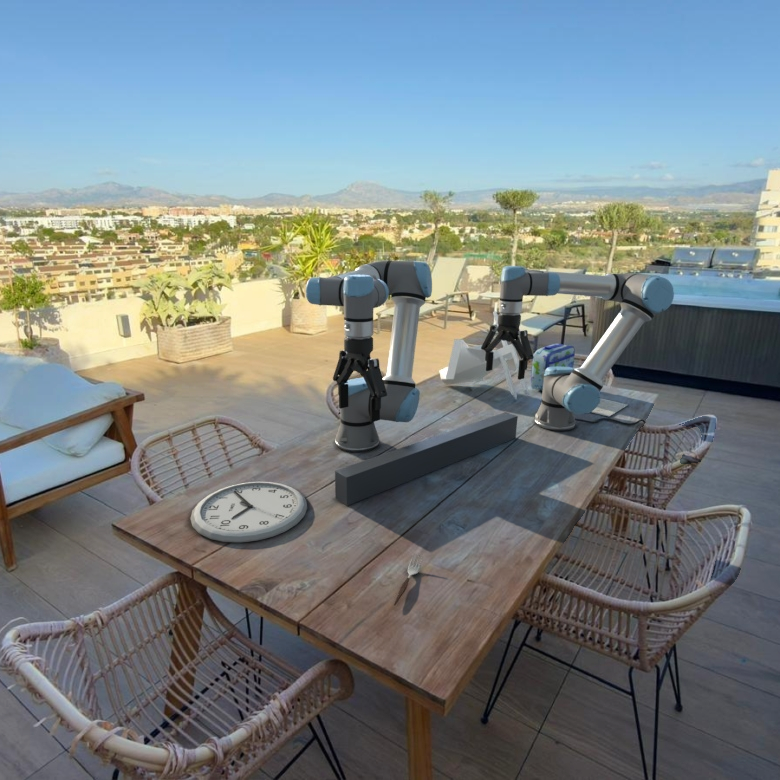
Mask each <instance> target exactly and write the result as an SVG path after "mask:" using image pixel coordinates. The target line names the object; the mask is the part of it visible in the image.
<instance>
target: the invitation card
mask: <svg viewBox="0 0 780 780" xmlns="http://www.w3.org/2000/svg"><path fill="white" fill-rule="evenodd" d="M628 406H629V404H627V403H623V402H618V401H614V400H609V399H605V398H601V397H600V402H599V404H598V406H597V407H596V408H595V409H594V410H593V411H591V412H590V413H593V414H596V415H600V416H604V417H607V418H610V417H611V416H613V415H614V414H616V413H617V412H619V411H621V410H623V409H624V408H626V407H628Z"/></svg>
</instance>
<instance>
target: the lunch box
mask: <svg viewBox="0 0 780 780" xmlns="http://www.w3.org/2000/svg"><path fill="white" fill-rule="evenodd" d="M575 352H576V351H575V346H573V345H568V344H562V343H553V344H550V345H547V346H546V345H545V346H544V347H541V348H538V349H537V350H536V351H535V352H534V353H533V356H534V358H533V359H532V362H531V371H530V372H531V374H530V387H531V389H533V390H539V391H543V381H544V374H545V370H546V368H548V367H571V368H574V363H575Z"/></svg>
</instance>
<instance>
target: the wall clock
mask: <svg viewBox="0 0 780 780" xmlns="http://www.w3.org/2000/svg"><path fill="white" fill-rule="evenodd" d="M307 503H308V502H307V499H306V498H305V496H304V495H303V493H301V492H300V491H298V490H297V489H295V488H294V487H291V486H289V485H286V484H283V483H280V482H279V483H278V482H272V481H249V482H248V481H247V482H242V483H238V484H232V485H229V486H226V487H223V488H220V489H218V490H216V491H213V492H211V493H210V494H208V495H207V496H205V497H204V498H202V499H201V500H200V501H199V502H198V503H197V504H196V505H195V507H194V508H193V509H192V511H191V515H190V523H191V526H192V528H193V529H194V531H196V532H197V533H198V534H199V535H201V536H203V537H205V538H208V539H210V540H214V541H218V542H222V543H239V544H240V543H249V542H256V541H262V540H265V539H269V538H274V537H276V536H278V535H280V534H282V533H286V532H287V531H289V530H290V529H292V528H293V527H295V526H296V525H298V524H299V523H300V522H301V521H302V519H303V518H304V517H305V516H306V513H307V510H308V504H307Z"/></svg>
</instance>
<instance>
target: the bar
mask: <svg viewBox="0 0 780 780" xmlns="http://www.w3.org/2000/svg"><path fill="white" fill-rule="evenodd" d="M517 428H518V415H515V414H512V413H510V412H508V411H507V412H506V411H504V412H501V413H499V414H496V415H492V416H491V417H488V418H485V419H481V420H478V421H476V422H473V423H471V424H466V425H464V426H461V427H458V428H456V429H452V430H449V431H447V432H444V433H439V434H438V435H434V436H432V437H429V438H426V439H423V440H420V441H417V442H413V443H412V444H409V445H408V444H407V445H406V446H403V447H400V448H397V449H394V450H391V451H388V452H385V453H382V454H379V455H376V456H374V457H371V458H368V459H364V460H362V461H358V462H356V463H353V464H350V465H347V466H344V467H341V468H338V469H336V470H334V489H335V490H334V494H335V499H336V500H337V501H339V502H340V503H342V504H343V505H345V506H346V507H347V506H350V505H353V504H355V503H358V502H360V501H362V500H365V499H367V498H370V497H373V496H375V495H377V494H380V493H382V492H385V491H387V490H390V489H392V488H395V487H397V486H400V485H402V484H404V483H408V482H410V481H412V480H415V479H417V478H420V477H422V476H425V475H427V474H430V473H432V472H435V471H437V470H440V469H443V468H445V467H447V466H450V465H452V464H455V463H457V462H460V461H462V460H465V459H467V458H469V457H472V456H474V455H477V454H479V453H482V452H484V451H487V450H490V449H492V448H494V447H497V446H500V445H502V444H505V443H507V442H510V441H512V440H515V439H516V438H517V430H518V429H517Z"/></svg>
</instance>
